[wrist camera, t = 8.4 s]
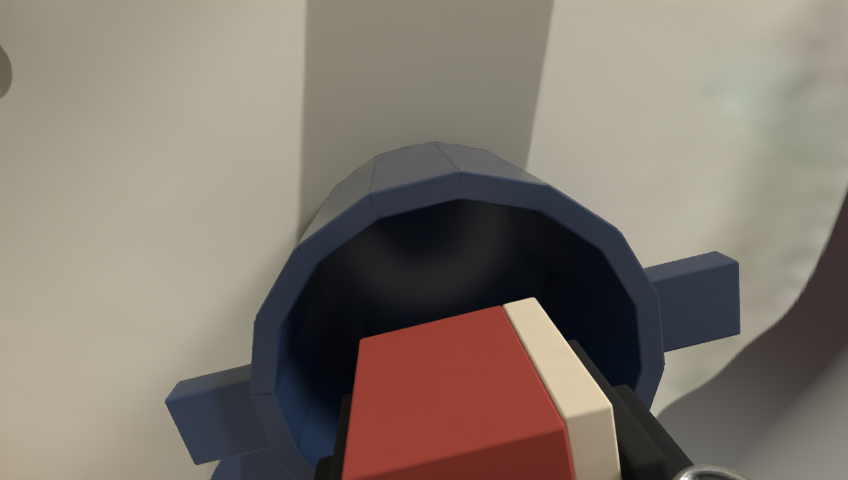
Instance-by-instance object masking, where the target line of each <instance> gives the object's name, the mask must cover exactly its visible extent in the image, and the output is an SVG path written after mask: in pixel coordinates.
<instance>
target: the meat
mask: <svg viewBox="0 0 848 480" xmlns="http://www.w3.org/2000/svg"><path fill="white" fill-rule="evenodd" d="M341 480H622V478H621V470H620V462H619V454H618V447H617V439H616V431H615V423H614V416H613V408H612V404H611V403H610V401H609V400H608V399H607V397H606V396H605V394H604V393H603V392H602V390H601V389H600V388H599V386H598V385H597V383H596V382H595V381H594V379H593V378H592V376H591V375H590V374H589V372H588V371H587V369H586V368H585V367H584V365H583V364H582V363H581V361H580V360H579V358H578V357H577V356H576V354H575V353H574V351H573V350H572V349H571V347H570V346H569V345H568V343H567V342H566V340H565V339H564V338H563V336H562V335H561V333H560V332H559V331H558V329H557V328H556V327H555V325H554V324H553V322H552V321H551V320H550V318H549V317H548V315H547V314H546V313H545V311H544V310H543V309H542V307H541V306H540V304H539V303H538V302H537V300H536V299H535V298H528V299H524V300H520V301H516V302H511V303H507V304H504V305H503V308H502V307H501V306H495V307H491V308H487V309H483V310H478V311H474V312H470V313H466V314H462V315H458V316H454V317H450V318H446V319H441V320H437V321H433V322H429V323H425V324H421V325H417V326H413V327H409V328H404V329H400V330H396V331H392V332H388V333H384V334H380V335H376V336H372V337H367V338H363V339H361V340H360V343H359V351H358V358H357V366H356V373H355V381H354V388H353V396H352V403H351V411H350V418H349V426H348V433H347V441H346V448H345V456H344V463H343V471H342V478H341Z"/></svg>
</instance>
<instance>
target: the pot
mask: <svg viewBox="0 0 848 480" xmlns="http://www.w3.org/2000/svg"><path fill="white" fill-rule="evenodd" d="M528 298H535V299H536V300H537V302H538V303H539V304H540V306H541V307H542V309H543V310H544V311H545V313H546V314H547V315H548V317H549V318H550V320H551V321H552V322H553V324H554V325H555V327H556V328H557V329H558V331H559V332H560V333H561V335H562V336H563V338H564V339H565V340H566V341H570V340H576V341H577V342H578V343H579V345H580V346H581V347H582V349H583V350H584V351H585V353H586V354H587V355H588V357H589V358H590V359H591V360H592V362H593V363H594V364H595V366H596V367H597V368H598V370H599V371H600V372H601V374H602V375H603V376H604V377H605V379H606V380H607V381H608V383H609V384H610V385H611V387H616V386H620V385H627V386H629V387H630V388H631V389H632V390H633V392H634V393H635V394H636V395H637V397H638V398H639V399H640V400H641V401H642V403H643V404H644V405H645V406H646V407H647V409H648V410H649V411H650V408H651V405H652V402H653V399H654V396H655V394H656V391H657V388H658V385H659V382H660V379H661V377H662V374H663V371H664V365H665V360H664V352H668V351H672V350H676V349H680V348H684V347H688V346H692V345H697V344H701V343H705V342H709V341H713V340H717V339H721V338H726V337H730V336H734V335H738V334H740V298H739V263H738V261H736V260H734V259H732V258H730V257H728V256H725V255H723V254H721V253H719V252H717V251H714V252H709V253H705V254H701V255H697V256H693V257H689V258H685V259H681V260H677V261H672V262H668V263H664V264H660V265H656V266H652V267H648V268H644V269H643V268H642V266H641V264H640V263H639V261H638V259H637V258H636V256H635V254H634V253H633V251H632V249H631V248H630V246H629V244H628V243H627V241H626V239H625V238H624V236H623V234H622V233H621V232H620V231H618V229H617V228H616V227H615V226H613V225H611V224H610V223H608V222H607V221H605V220H604V219H602V218H601V217H599V216H598V215H596V214H594V213H593V212H591V211H590V210H588V209H587V208H585V207H584V206H582V205H581V204H579V203H578V202H576V201H574V200H573V199H571V198H570V197H568V196H567V195H565V194H564V193H562V192H561V191H559V190H557V189H556V188H554V187H553V186H551V185H549V184H547V183H546V182H544V181H542V180H540V179H538V178H536V177H535V176H533V175H531V174H529V173H527V172H525V171H524V170H522V169H520V168H518V167H516V166H514V165H513V164H511V163H509V162H507V161H505V160H503V159H502V158H500V157H498V156H496V155H494V154H492V153H491V152H488V151H486V150H482V149H475V148H470V147H465V146H461V145H455V144H444V143H438V142H433V143H432V142H429V143H425V144H419V145H413V146H408V147H403V148H400V149H397V150H394V151H391V152H388V153H384V154H380V155H379V156H376V157H375V158H373V159H372V160H370V161H369V162H368V163H366V164H365V165H363V166H362V167H360V168H358V169H357V170H356V171H354V172H353V173H352V174H351V175H350V176H349V177H347V178H346V179H345V180H344V181H342V182H341V183H340V184H338V185H337V186H336V187H335V188H334V189H333V190H332V191H331V193H330V195H329V196H328V198H327V199H326V201H325V202H324V204H323V205H322V207H321V208H320V210H319V211H318V213H317V214H316V216H315V218H314V219H313V221H312V222H311V224H310V225H309V227H308V228H307V230H306V231H305V233H304V234H303V236H302V237H301V239H300V241H299V242H298V244H297V245H296V247H295V248H294V250H293V252H292V253H291V255H290V257H289V259H288V260H287V262H286V264H285V266H284V267H283V269H282V271H281V273H280V274H279V276H278V278H277V280H276V281H275V283H274V285H273V287H272V288H271V290H270V292H269V294H268V295H267V297H266V299H265V301H264V303H263V304H262V306H261V308H260V310H259V311H258V313H257V315H256V319H255V321H254V331H253V346H252V361H251V364H249V365H245V366H241V367H237V368H233V369H229V370H225V371H221V372H216V373H212V374H208V375H204V376H200V377H196V378H192V379H188V380H183V381H180V382H179V383H178V384H177V385H176V386H175V388H174V389H173V390H172V392H171V393H170V394H169V396H168V397H167V398H166V400H165V403H166V405H167V408H168V410H169V412H170V414H171V416H172V418H173V420H174V422H175V424H176V426H177V428H178V430H179V432H180V434H181V437H182V439H183V441H184V443H185V445H186V447H187V449H188V451H189V453H190V455H191V457H192V459H193V461H194V463H195V464H196V465H199V464H203V463H207V462H212V461H216V460H220V459H224V458H228V457H232V456H236V455H241V454H245V453H249V452H253V451H257V450H261V449H265V448H269V447H271V449H272V452H273V454H274V457H275V459H276V460H277V461H278V463H279V464H280V465H281V466H282V467H284V468H285V469H286V470H287V471H288V472H289V473H290V474H291V475H292V476H293V477H294V478H295V479H296V480H314V476H315V471H316V466H317V463H318V460H319V459H320V458H323V457H327V456H331V455H333V454H334V447H335V441H336V435H337V429H338V423H339V417H340V411H341V405H342V399H343V396H344V395H347V394H351V393H353V388H354V381H355V373H356V366H357V358H358V351H359V343H360V340H361V339H363V338H367V337H372V336H376V335H380V334H384V333H388V332H392V331H396V330H400V329H404V328H409V327H413V326H417V325H421V324H425V323H429V322H433V321H437V320H441V319H446V318H450V317H454V316H458V315H462V314H466V313H470V312H474V311H478V310H483V309H487V308H491V307H495V306H501V307H502V308H503V305H504V304H507V303H511V302H516V301H520V300H524V299H528Z"/></svg>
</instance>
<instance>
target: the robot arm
mask: <svg viewBox="0 0 848 480" xmlns="http://www.w3.org/2000/svg"><path fill="white" fill-rule="evenodd" d="M566 342H567V343H568V345H569V346H570V347H571V349H572V350H573V351H574V353H575V354H576V356H577V357H578V358H579V360H580V361H581V363H582V364H583V365H584V367H585V368H586V369H587V371H588V372H589V374H590V375H591V376H592V378H593V379H594V381H595V382H596V383H597V385H598V386H599V388H600V389H601V390H602V392H603V393H604V394H605V396H606V397H607V399H608V400H609V401H610V403H611V404H612V408H613V416H614V423H615V431H616V439H617V447H618V454H619V462H620V470H621V478H622V480H750V479H749V478H747V477H746V476H744V475H743V474H741V473H738V472H736V471H734V470H732V469H729V468H726V467H722V466H718V465H711V464H698V465H694V464H693V463H692V462H691V461H690V460H689V458H688V457H687V456H686V455H685V453H684V452H683V451H682V450H681V449H680V447H679V446H678V445H677V444H676V443H675V442H674V440H673V439H672V438H671V436H670V435H669V434H668V433H667V432H666V430H665V429H664V428H663V427H662V426H661V424H660V423H659V422H658V421H657V420H656V418H655V417H654V416H653V415H652V413H651V412H650V411H649V410H648V409H647V407H646V406H645V405H644V404H643V403H642V401H641V400H640V399H639V398H638V397H637V395H636V394H635V393H634V392H633V390H632V389H631V388H630V387H629V386H627V385H620V386H616V387H611V385H610V384H609V383H608V381H607V380H606V379H605V377H604V376H603V375H602V374H601V372H600V371H599V370H598V368H597V367H596V366H595V364H594V363H593V362H592V360H591V359H590V358H589V357H588V355H587V354H586V353H585V351H584V350H583V349H582V347H581V346H580V345H579V343H578V342H577V341H576V340H570V341H566ZM352 396H353V393H351V394H347V395H344V396H343V399H342V405H341V411H340V417H339V423H338V429H337V435H336V441H335V447H334V454H333V455H331V456H327V457H323V458H320V459H319V460H318V463H317V466H316V471H315V476H314V480H341V478H342V471H343V463H344V456H345V448H346V441H347V433H348V426H349V418H350V411H351V403H352Z"/></svg>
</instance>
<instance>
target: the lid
mask: <svg viewBox="0 0 848 480" xmlns="http://www.w3.org/2000/svg"><path fill="white" fill-rule="evenodd" d="M211 480H296V479H295V478H294V477H293V476H292V475H291V474H290V473H289V472H288V471H287V470H286V469H285V468H284V467H282V466H281V465H280V464H279V463H278V461H277V460H276V459H275V457H274V454H273V452H272V449H271V447H269V448H265V449H261V450H257V451H253V452H249V453H245V454H241V455H236V456H232V457H228V458H224V459H221V460H220V461H219V463H218V465H217V467H216V469H215V471H214V473H213V475H212V478H211Z"/></svg>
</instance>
